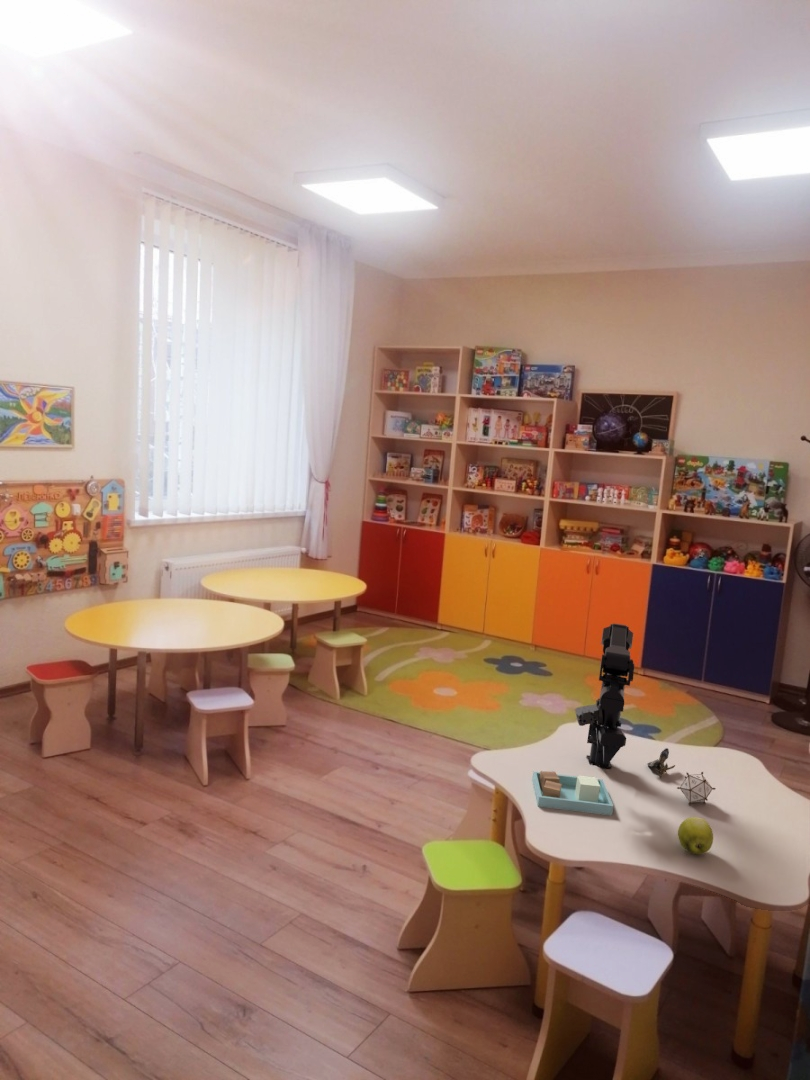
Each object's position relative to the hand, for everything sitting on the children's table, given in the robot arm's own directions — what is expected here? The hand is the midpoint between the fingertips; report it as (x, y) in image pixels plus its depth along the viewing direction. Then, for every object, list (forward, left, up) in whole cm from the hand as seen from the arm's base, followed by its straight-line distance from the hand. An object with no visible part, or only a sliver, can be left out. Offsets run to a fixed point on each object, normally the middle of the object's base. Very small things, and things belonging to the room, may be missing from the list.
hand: (602, 756), depth 204 cm
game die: (-5, +27, -12) cm, 30 cm away
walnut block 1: (-1, -13, -11) cm, 17 cm away
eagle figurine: (-22, +22, -12) cm, 34 cm away
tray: (+2, -7, -12) cm, 14 cm away
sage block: (+2, -3, -11) cm, 12 cm away
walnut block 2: (+5, -13, -11) cm, 18 cm away
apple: (+21, +19, -12) cm, 31 cm away
